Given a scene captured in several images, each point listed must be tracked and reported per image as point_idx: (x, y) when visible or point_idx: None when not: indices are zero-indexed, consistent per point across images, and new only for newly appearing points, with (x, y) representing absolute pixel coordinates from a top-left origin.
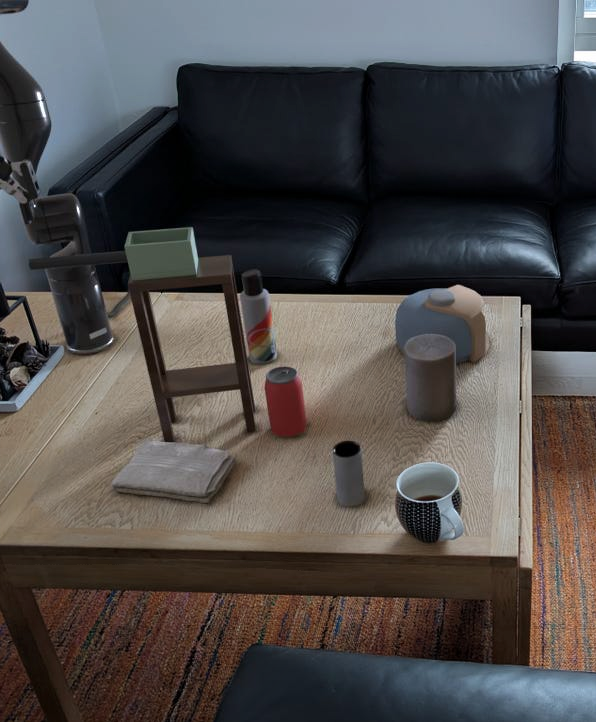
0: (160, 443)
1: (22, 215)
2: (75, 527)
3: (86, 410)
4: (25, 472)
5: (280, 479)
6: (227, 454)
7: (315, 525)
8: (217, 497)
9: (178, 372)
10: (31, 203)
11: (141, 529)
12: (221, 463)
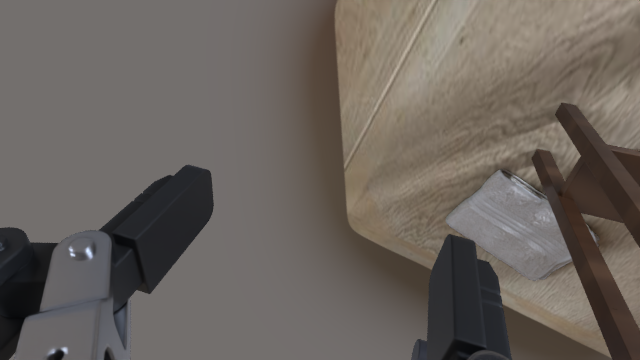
0: (523, 192)
1: (428, 319)
2: (403, 239)
3: (447, 24)
4: (359, 141)
5: (627, 275)
6: None
7: None
8: None
9: (625, 165)
10: (507, 342)
11: None
12: None
